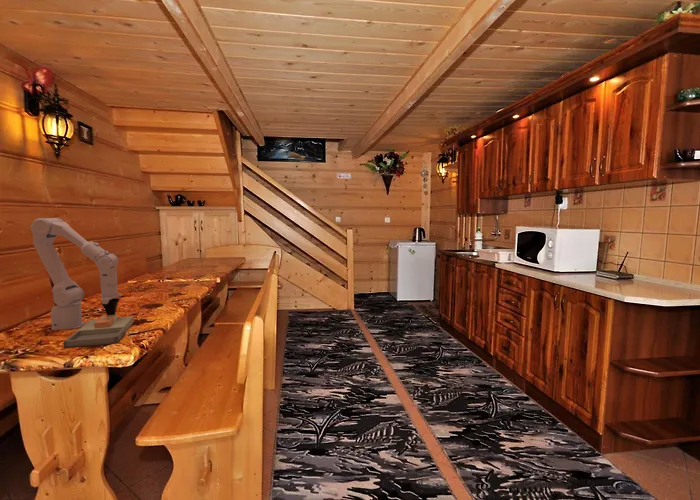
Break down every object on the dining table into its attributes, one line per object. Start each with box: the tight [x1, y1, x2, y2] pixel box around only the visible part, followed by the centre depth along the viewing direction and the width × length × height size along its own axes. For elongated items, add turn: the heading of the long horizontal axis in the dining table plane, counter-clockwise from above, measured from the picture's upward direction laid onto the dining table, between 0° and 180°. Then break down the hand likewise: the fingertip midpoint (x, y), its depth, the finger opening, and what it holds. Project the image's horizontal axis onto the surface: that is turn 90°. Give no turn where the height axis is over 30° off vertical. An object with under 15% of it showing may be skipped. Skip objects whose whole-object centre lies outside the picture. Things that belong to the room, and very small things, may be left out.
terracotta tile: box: [94, 318, 114, 328], centre depth 143 cm, size 5×5×2 cm
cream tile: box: [99, 314, 118, 322], centre depth 149 cm, size 5×5×2 cm
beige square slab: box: [76, 315, 135, 336], centre depth 147 cm, size 15×15×2 cm
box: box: [63, 328, 127, 349], centre depth 135 cm, size 16×11×2 cm
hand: (111, 317), depth 152 cm, fingers closed
